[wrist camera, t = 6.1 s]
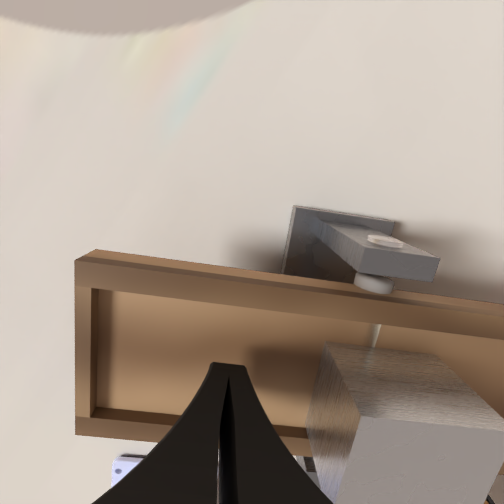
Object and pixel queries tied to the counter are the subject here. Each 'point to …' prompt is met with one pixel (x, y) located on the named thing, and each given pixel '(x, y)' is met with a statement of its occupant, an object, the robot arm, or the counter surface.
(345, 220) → the stand
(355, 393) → the block
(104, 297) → the wooden tray
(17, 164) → the counter surface
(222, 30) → the counter surface
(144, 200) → the counter surface
